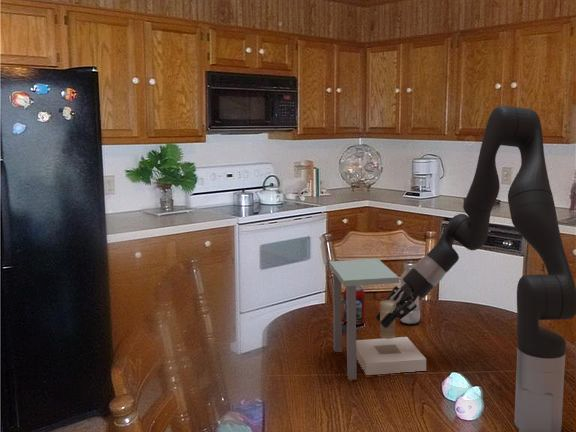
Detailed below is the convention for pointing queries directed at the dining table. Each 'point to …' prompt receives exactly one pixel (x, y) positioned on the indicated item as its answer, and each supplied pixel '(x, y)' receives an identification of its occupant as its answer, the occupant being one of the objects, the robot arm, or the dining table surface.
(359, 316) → the beverage can
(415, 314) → the plastic bottle
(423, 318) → the dining table surface
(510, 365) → the dining table surface
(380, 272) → the two-legged shelf table
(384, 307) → the peg
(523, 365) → the robot arm
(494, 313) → the dining table surface
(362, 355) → the socket
